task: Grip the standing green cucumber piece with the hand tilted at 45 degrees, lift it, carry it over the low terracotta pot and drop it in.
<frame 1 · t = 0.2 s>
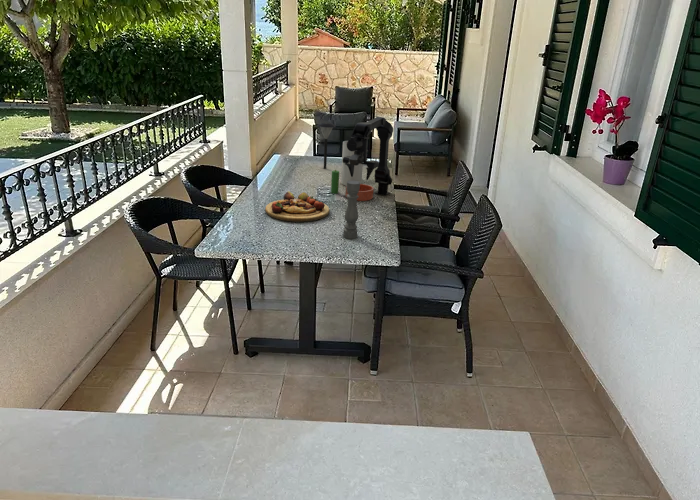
hand: (359, 178, 263), 15 cm above the table, tool pointing down, fingers open, 9 cm apart
pot: (359, 197, 283), on the table
solar garden light: (324, 168, 338), on the table
candle holder: (350, 236, 227), on the table
cylinder vase: (351, 184, 307), on the table
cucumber: (334, 192, 288), on the table
wooden plate: (297, 212, 253), on the table
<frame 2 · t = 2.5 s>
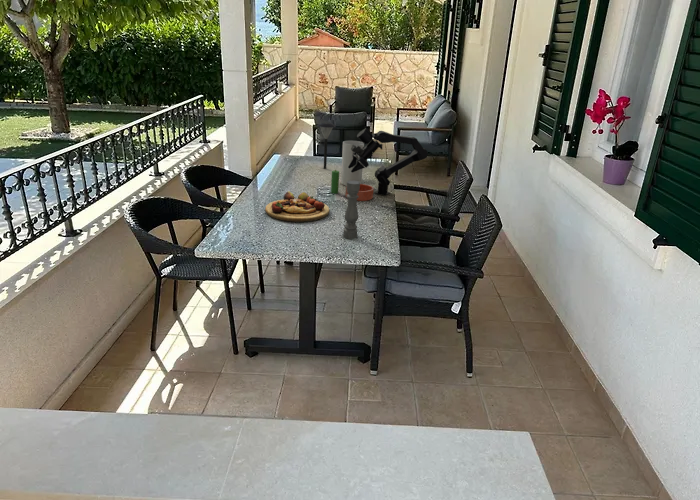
hand: (350, 169, 283), 14 cm above the table, tool tilted 40°, fingers open, 9 cm apart
nothing on the table moved.
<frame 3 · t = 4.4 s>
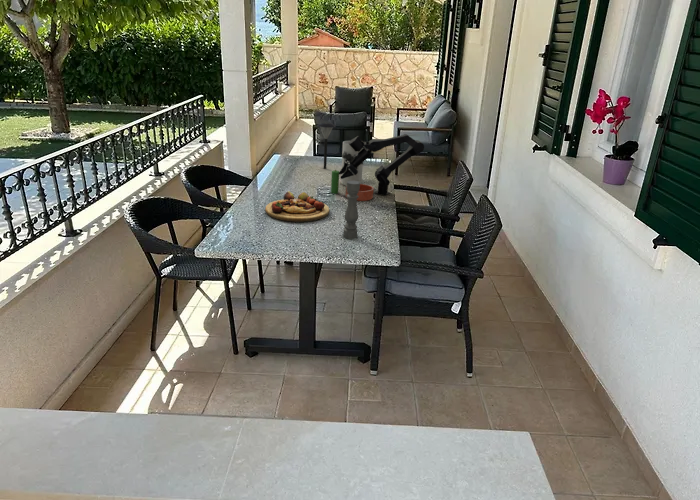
hand: (339, 176, 285), 10 cm above the table, tool tilted 45°, fingers open, 9 cm apart
nothing on the table moved.
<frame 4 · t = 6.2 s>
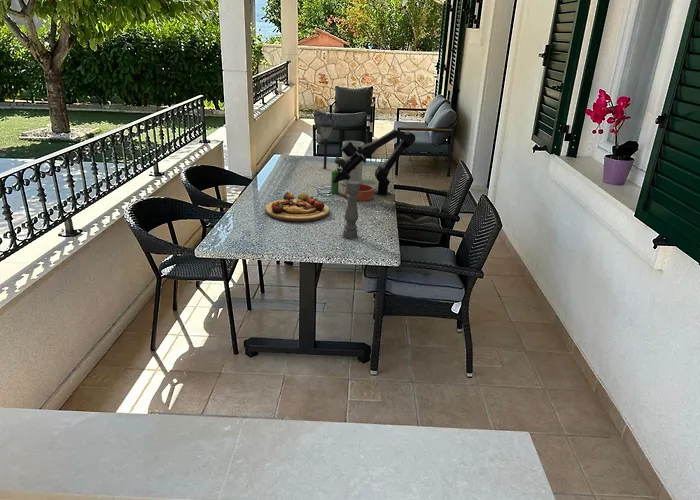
hand: (332, 181, 285), 7 cm above the table, tool tilted 45°, fingers closed on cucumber, 4 cm apart
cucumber: (334, 192, 288), on the table, touching gripper
everything else where it was.
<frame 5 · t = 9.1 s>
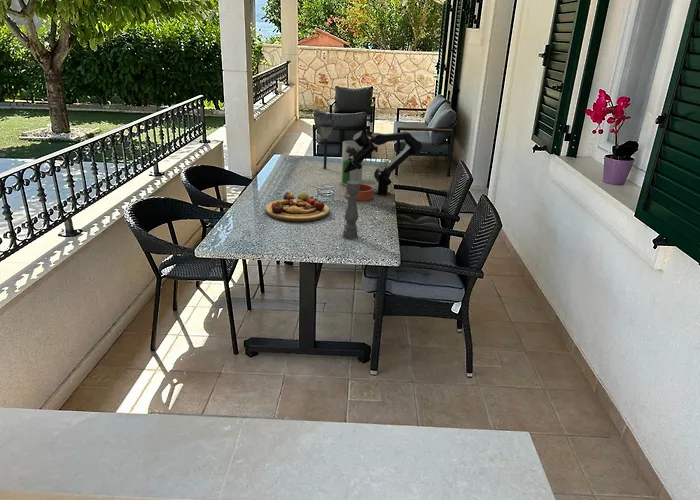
hand: (343, 171, 280), 13 cm above the table, tool tilted 45°, fingers closed on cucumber, 4 cm apart
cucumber: (345, 182, 283), point 7 cm above the table, touching gripper
everything else where it was.
when the fingers open (10 cm above the table, at t = 12.2 s): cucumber drops 2 cm, resting on pot.
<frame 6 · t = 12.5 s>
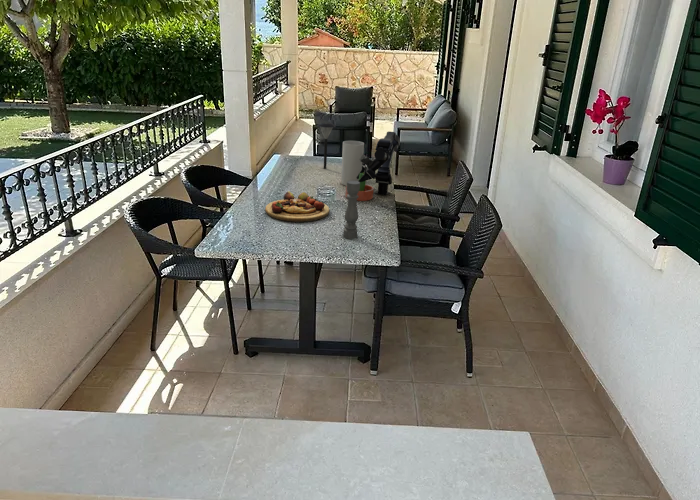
hand: (357, 180, 279), 10 cm above the table, tool tilted 45°, fingers open, 7 cm apart
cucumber: (359, 195, 282), point 1 cm above the table, tilted 8°, touching pot
everything else where it was.
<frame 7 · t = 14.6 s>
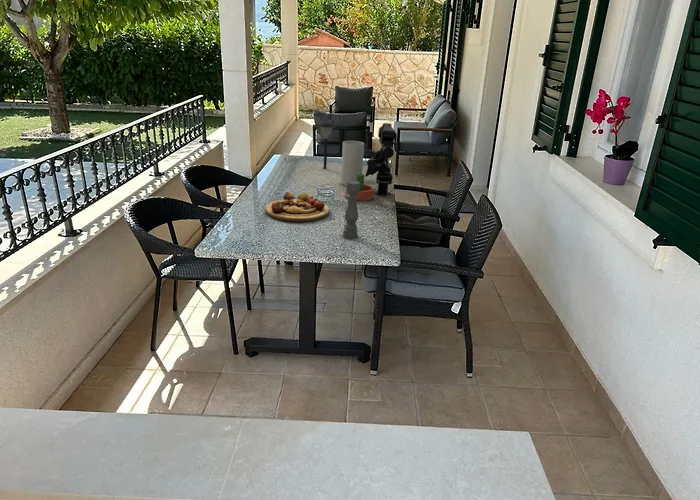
hand: (368, 175, 278), 12 cm above the table, tool tilted 30°, fingers open, 9 cm apart
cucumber: (359, 196, 283), resting on pot
everything else where it was.
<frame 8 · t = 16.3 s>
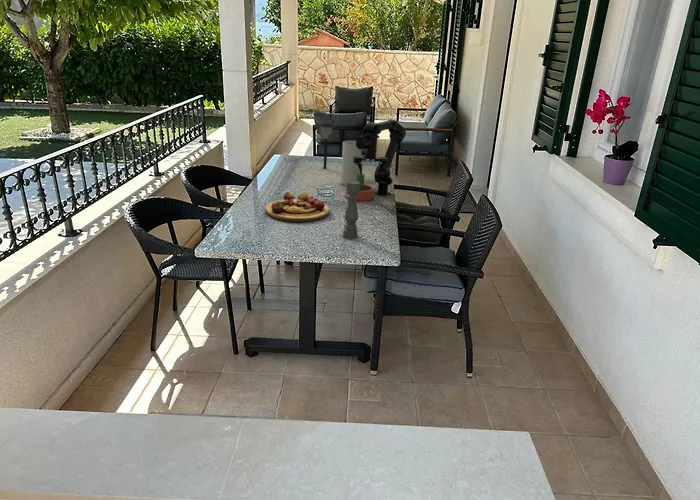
hand: (369, 175, 276), 13 cm above the table, tool pointing down, fingers open, 9 cm apart
nothing on the table moved.
at the end: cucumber inside the target area in the pot (0.1 cm from its centre), point 0.5 cm above the pot's base; the gripper is holding nothing; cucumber moved 15.2 cm from its start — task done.
